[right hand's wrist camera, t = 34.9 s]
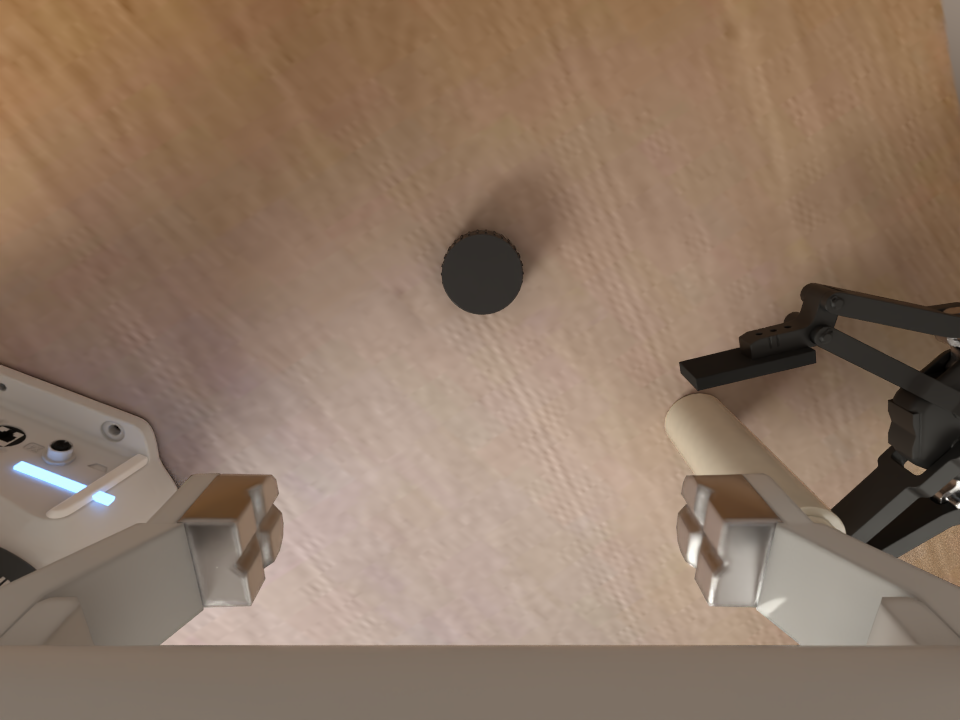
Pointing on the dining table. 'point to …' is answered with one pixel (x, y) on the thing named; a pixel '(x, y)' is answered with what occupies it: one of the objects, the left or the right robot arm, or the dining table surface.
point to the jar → (734, 451)
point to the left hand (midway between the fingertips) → (701, 473)
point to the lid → (482, 272)
